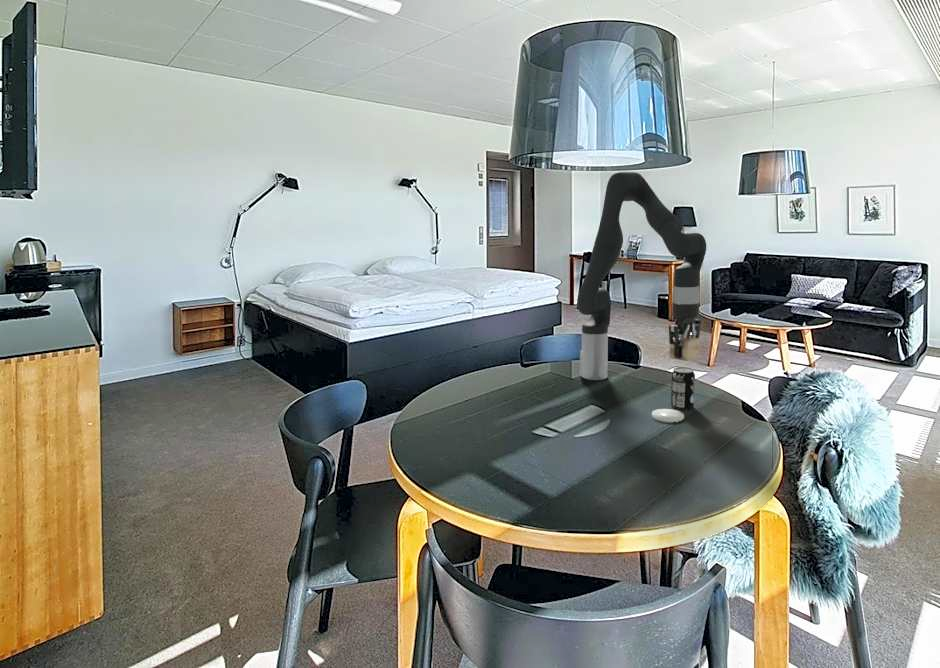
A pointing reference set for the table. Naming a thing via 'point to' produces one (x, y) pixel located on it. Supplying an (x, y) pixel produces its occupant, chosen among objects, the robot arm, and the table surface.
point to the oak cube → (687, 349)
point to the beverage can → (682, 388)
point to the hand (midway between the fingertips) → (684, 355)
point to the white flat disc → (667, 415)
